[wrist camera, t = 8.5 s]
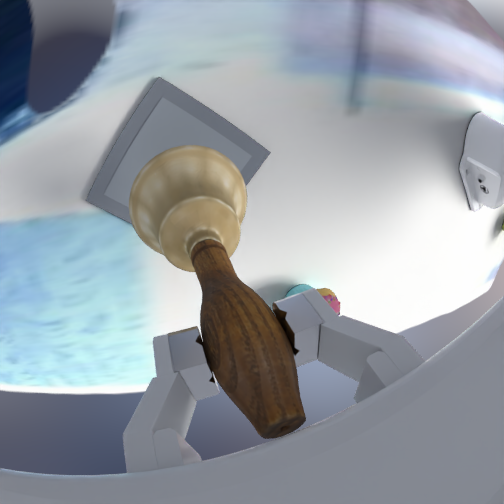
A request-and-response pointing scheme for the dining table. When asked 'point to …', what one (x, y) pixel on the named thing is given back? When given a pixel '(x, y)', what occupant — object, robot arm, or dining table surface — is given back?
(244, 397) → the hand bell
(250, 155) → the plate
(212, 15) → the dining table surface
